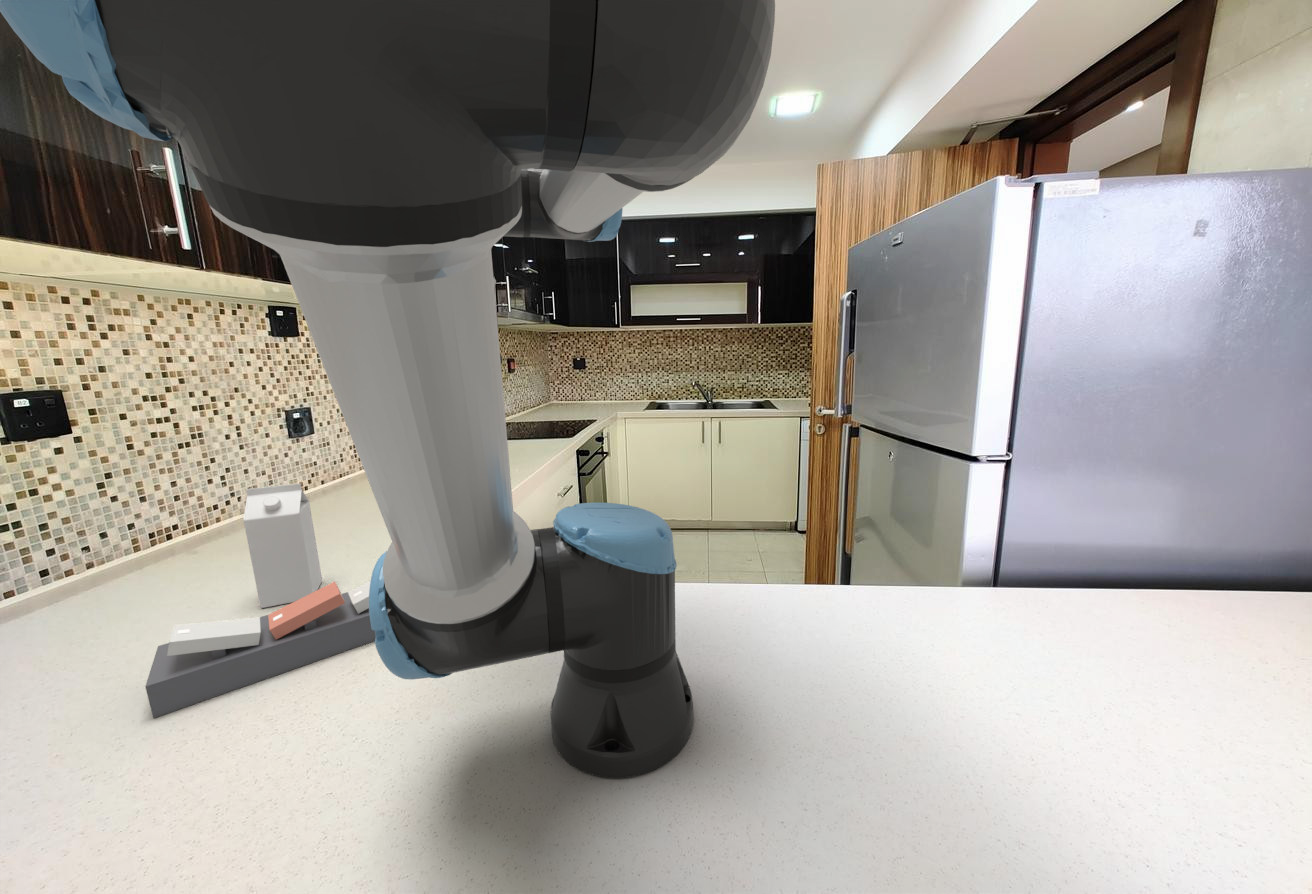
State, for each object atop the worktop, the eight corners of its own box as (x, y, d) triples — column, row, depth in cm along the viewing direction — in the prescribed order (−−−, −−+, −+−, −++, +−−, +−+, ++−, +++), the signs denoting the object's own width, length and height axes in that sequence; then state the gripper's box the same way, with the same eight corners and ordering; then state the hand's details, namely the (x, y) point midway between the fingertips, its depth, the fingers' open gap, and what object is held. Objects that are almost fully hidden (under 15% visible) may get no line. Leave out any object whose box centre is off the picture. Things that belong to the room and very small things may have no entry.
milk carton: (273, 590, 82) (253, 484, 79) (322, 581, 85) (305, 478, 81) (260, 609, 76) (238, 495, 72) (314, 599, 79) (295, 488, 75)
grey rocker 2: (416, 582, 70) (412, 572, 70) (358, 613, 66) (352, 604, 65) (408, 571, 74) (404, 562, 73) (352, 600, 69) (347, 591, 69)
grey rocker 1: (258, 644, 59) (260, 631, 59) (166, 656, 54) (169, 641, 54) (257, 628, 63) (259, 616, 62) (171, 637, 57) (174, 624, 57)
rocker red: (345, 603, 64) (339, 593, 64) (275, 639, 60) (269, 629, 59) (340, 590, 68) (334, 581, 68) (274, 624, 64) (267, 614, 63)
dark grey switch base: (477, 605, 76) (474, 575, 75) (153, 718, 53) (143, 678, 52) (456, 583, 83) (453, 556, 82) (165, 674, 60) (156, 638, 59)
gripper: (516, 297, 60) (530, 479, 64) (472, 308, 69) (487, 467, 73) (457, 292, 55) (476, 490, 59) (418, 305, 64) (436, 475, 68)
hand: (482, 477), depth 66 cm, fingers closed
